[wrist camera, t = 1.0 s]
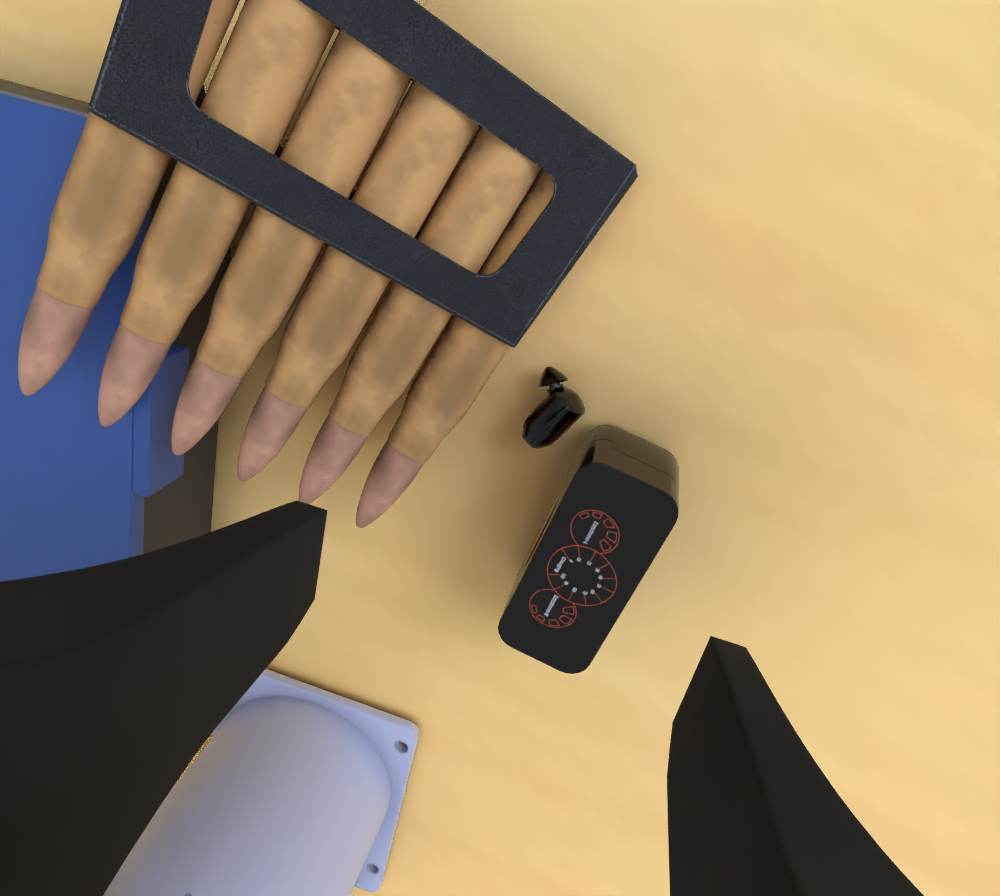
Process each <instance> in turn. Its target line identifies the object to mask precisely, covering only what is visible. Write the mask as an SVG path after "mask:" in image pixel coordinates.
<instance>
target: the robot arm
mask: <svg viewBox="0 0 1000 896" xmlns="http://www.w3.org/2000/svg"><path fill="white" fill-rule="evenodd" d="M326 516H327V510H325V509H321V508H318V507H315V506H312V505H309V504H306V503H303V502H300V501H294V502H291V503H288V504H285V505H282V506H279V507H277V508H274V509H271V510H269V511H266V512H263V513H261V514H258V515H256V516H253V517H250V518H248V519H245V520H243V521H240V522H237V523H234V524H232V525H229V526H226V527H224V528H221V529H218V530H216V531H213V532H210V533H207V534H205V535H202V536H199V537H196V538H192V539H189V540H186V541H183V542H180V543H177V544H174V545H171V546H168V547H165V548H161V549H158V550H155V551H152V552H148V553H145V554H141V555H138V556H134V557H130V558H126V559H122V560H118V561H114V562H109V563H105V564H101V565H97V566H92V567H87V568H82V569H77V570H71V571H65V572H59V573H53V574H47V575H41V576H35V577H29V578H23V579H16V580H8V581H0V896H350V895H351V893H352V891H353V888H354V886H356V887H358V888H361V889H363V890H366V891H369V892H376V891H378V890H379V889H380V887H381V884H382V882H383V878H384V874H385V870H386V866H387V862H388V858H389V854H390V850H391V846H392V842H393V838H394V834H395V830H396V826H397V822H398V818H399V814H400V810H401V806H402V802H403V798H404V794H405V790H406V786H407V782H408V778H409V774H410V770H411V766H412V762H413V758H414V754H415V750H416V746H417V742H418V738H419V730H418V727H417V726H416V725H415V724H414V723H413V722H411V721H409V720H406V719H403V718H400V717H398V716H395V715H392V714H389V713H387V712H384V711H381V710H378V709H376V708H373V707H370V706H367V705H365V704H362V703H359V702H356V701H354V700H351V699H348V698H345V697H343V696H340V695H337V694H334V693H332V692H329V691H326V690H323V689H321V688H318V687H315V686H312V685H310V684H307V683H304V682H301V681H299V680H296V679H293V678H290V677H288V676H285V675H282V674H279V673H276V672H274V671H271V670H268V669H266V668H267V667H268V665H269V664H270V663H271V662H272V661H273V659H274V658H275V657H276V656H277V655H278V653H279V652H280V651H281V650H282V648H283V647H284V646H285V645H286V643H287V642H288V641H289V639H290V638H291V636H292V635H293V633H294V631H295V630H296V628H297V627H298V625H299V624H300V622H301V621H302V619H303V617H304V616H305V614H306V612H307V611H308V609H309V607H310V606H311V604H312V603H313V601H314V599H315V593H316V586H317V579H318V572H319V565H320V558H321V551H322V544H323V537H324V530H325V523H326ZM212 732H213V736H212V739H211V740H210V741H209V743H208V744H207V745H206V747H205V748H204V749H203V750H202V752H201V753H200V754H199V755H198V757H197V758H196V759H195V760H194V762H193V763H192V764H191V765H190V767H189V768H188V769H187V770H186V772H185V773H184V774H183V775H182V777H181V778H180V779H179V777H180V776H181V774H182V773H183V772H184V770H185V769H186V767H187V766H188V764H189V763H190V761H191V760H192V758H193V757H194V755H195V754H196V753H197V751H198V750H199V749H200V748H201V746H202V745H203V744H204V742H205V741H206V740H207V738H208V737H209V736H210V735H211V733H212ZM401 742H403V743H405V744H406V745H405V744H402V743H401ZM178 779H179V780H178ZM177 780H178V782H177ZM176 782H177V783H176ZM175 783H176V784H175ZM173 786H174V787H173ZM667 797H668V837H669V872H670V896H924V895H923V894H922V893H921V892H920V891H919V890H918V889H917V888H916V887H915V886H914V885H913V884H912V883H911V882H910V880H909V879H908V878H907V877H906V876H905V875H904V874H903V873H902V872H901V871H900V870H899V868H898V867H897V866H896V865H895V864H894V863H893V862H892V861H891V859H890V858H889V857H888V856H887V855H886V854H885V853H884V851H883V850H882V849H881V848H880V847H879V845H878V844H877V843H876V842H875V840H874V839H873V838H872V837H871V836H870V834H869V833H868V832H867V831H866V829H865V828H864V827H863V826H862V824H861V823H860V822H859V821H858V820H857V818H856V817H855V816H854V815H853V813H852V812H851V811H850V809H849V808H848V807H847V805H846V804H845V803H844V802H843V800H842V799H841V798H840V796H839V795H838V794H837V792H836V791H835V789H834V788H833V786H832V785H831V784H830V782H829V781H828V779H827V778H826V776H825V775H824V774H823V772H822V771H821V769H820V768H819V767H818V765H817V764H816V762H815V761H814V759H813V758H812V756H811V755H810V753H809V752H808V750H807V749H806V747H805V746H804V744H803V743H802V741H801V739H800V738H799V736H798V735H797V733H796V731H795V730H794V728H793V727H792V725H791V723H790V722H789V720H788V719H787V717H786V715H785V714H784V712H783V710H782V709H781V707H780V705H779V704H778V702H777V700H776V698H775V697H774V695H773V693H772V692H771V690H770V688H769V686H768V685H767V683H766V681H765V679H764V678H763V676H762V674H761V672H760V671H759V669H758V667H757V665H756V664H755V662H754V660H753V659H752V657H751V655H750V654H749V652H748V650H747V649H746V647H743V646H740V645H737V644H734V643H731V642H728V641H724V640H721V639H718V638H715V637H712V636H711V637H710V639H709V641H708V644H707V646H706V648H705V650H704V653H703V655H702V657H701V659H700V662H699V664H698V666H697V669H696V671H695V673H694V675H693V678H692V680H691V682H690V684H689V687H688V689H687V691H686V693H685V696H684V698H683V700H682V703H681V705H680V707H679V709H678V712H677V714H676V716H675V718H674V721H673V725H672V734H671V743H670V751H669V762H668V773H667Z"/></svg>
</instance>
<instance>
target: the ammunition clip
mask: <svg viewBox="0 0 1000 896" xmlns="http://www.w3.org/2000/svg"><path fill="white" fill-rule="evenodd" d="M239 1H240V0H122V2H121V6H120V9H119V12H118V15H117V18H116V22H115V25H114V28H113V31H112V34H111V37H110V41H109V44H108V47H107V50H106V53H105V57H104V60H103V63H102V66H101V69H100V72H99V76H98V79H97V82H96V85H95V88H94V91H93V95H92V98H91V101H90V104H89V111H90V113H89V115H88V118H87V121H86V123H85V126H84V129H83V131H82V134H81V137H80V139H79V142H78V145H77V147H76V150H75V153H74V155H73V158H72V161H71V163H70V166H69V169H68V171H67V174H66V177H65V179H64V182H63V185H62V187H61V190H60V193H59V195H58V198H57V201H56V203H55V206H54V209H53V212H52V215H51V219H50V225H49V232H48V241H47V249H46V254H45V257H44V260H43V263H42V266H41V269H40V272H39V275H38V278H37V283H38V284H37V286H36V289H35V292H34V294H33V297H32V300H31V303H30V305H29V308H28V311H27V314H26V318H25V322H24V327H23V331H22V335H21V340H20V347H19V357H18V378H19V384H20V388H21V392H22V393H23V394H24V395H25V396H31V395H33V394H35V393H36V392H37V391H39V390H40V389H41V388H43V387H44V386H45V385H46V384H47V383H48V382H49V381H50V380H51V379H52V378H53V376H54V375H55V374H56V373H57V372H58V371H59V369H60V368H61V367H62V366H63V364H64V363H65V361H66V360H67V359H68V357H69V356H70V354H71V353H72V351H73V349H74V347H75V346H76V344H77V342H78V341H79V339H80V337H81V335H82V334H83V332H84V329H85V327H86V325H87V323H88V321H89V318H90V316H91V314H92V312H93V309H94V307H95V306H96V305H97V304H98V302H99V300H100V298H101V296H102V294H103V292H104V290H105V288H106V286H107V284H108V282H109V280H110V278H111V276H112V275H113V274H114V272H115V271H116V270H117V268H118V267H119V266H120V264H121V263H122V262H123V260H124V259H125V258H126V256H127V255H128V253H129V251H130V250H131V248H132V246H133V244H134V241H135V239H136V237H137V234H138V232H139V230H140V228H141V225H142V223H143V221H144V218H145V216H146V214H147V212H148V209H149V207H150V205H151V202H152V200H153V198H154V195H155V193H156V191H157V189H158V186H159V184H160V182H161V179H162V177H163V175H164V173H165V170H166V168H167V166H168V163H169V161H170V159H171V157H172V158H173V159H175V160H177V163H176V165H175V168H174V170H173V172H172V175H171V177H170V180H169V182H168V184H167V187H166V189H165V191H164V194H163V196H162V198H161V201H160V203H159V205H158V208H157V210H156V212H155V215H154V217H153V220H152V222H151V224H150V227H149V229H148V231H147V234H146V236H145V238H144V241H143V243H142V245H141V248H140V251H139V253H138V256H137V261H136V265H135V270H134V276H133V281H132V287H131V290H130V293H129V295H128V298H127V301H126V303H125V306H124V309H123V311H122V314H121V318H120V320H121V321H120V323H119V325H118V328H117V330H116V333H115V335H114V337H113V340H112V342H111V345H110V348H109V351H108V355H107V358H106V362H105V365H104V369H103V373H102V378H101V383H100V388H99V398H98V415H99V421H100V424H101V425H102V426H104V427H108V426H110V425H112V424H114V423H115V422H116V421H118V420H119V419H120V418H121V417H122V416H124V415H125V414H126V413H127V412H128V411H129V410H130V408H131V407H132V406H133V405H134V404H135V403H136V402H137V401H138V399H139V398H140V397H141V396H142V394H143V393H144V392H145V390H146V389H147V387H148V386H149V384H150V383H151V381H152V380H153V378H154V377H155V375H156V373H157V372H158V370H159V368H160V367H161V365H162V363H163V361H164V359H165V357H166V355H167V353H168V351H169V349H170V347H171V345H172V343H173V342H174V341H175V340H176V338H177V336H178V334H179V332H180V331H181V329H182V327H183V325H184V323H185V321H186V319H187V318H188V316H189V314H190V313H191V312H192V310H193V309H194V308H195V307H196V305H197V304H198V303H199V302H200V300H201V299H202V298H203V296H204V295H205V294H206V292H207V291H208V289H209V287H210V286H211V284H212V282H213V280H214V278H215V276H216V274H217V272H218V269H219V267H220V265H221V263H222V261H223V259H224V257H225V255H226V253H227V251H228V249H229V247H230V245H231V243H232V241H233V238H234V236H235V234H236V232H237V230H238V228H239V226H240V224H241V222H242V220H243V218H244V216H245V214H246V212H247V210H248V208H249V205H250V203H251V202H252V203H254V204H256V205H257V206H256V208H255V210H254V212H253V215H252V217H251V219H250V221H249V223H248V225H247V227H246V229H245V231H244V234H243V236H242V238H241V240H240V242H239V244H238V246H237V248H236V251H235V253H234V255H233V257H232V259H231V261H230V263H229V265H228V267H227V270H226V272H225V274H224V276H223V278H222V280H221V282H220V284H219V286H218V289H217V291H216V294H215V297H214V301H213V305H212V309H211V314H210V318H209V322H208V326H207V328H206V330H205V333H204V335H203V337H202V340H201V342H200V344H199V347H198V349H197V355H196V357H195V359H194V361H193V363H192V366H191V368H190V370H189V372H188V374H187V377H186V379H185V382H184V384H183V387H182V390H181V393H180V396H179V399H178V403H177V407H176V411H175V415H174V421H173V427H172V438H171V443H172V451H173V453H174V454H175V455H182V454H183V453H185V452H186V451H188V450H189V449H191V448H192V447H193V446H194V445H195V444H196V443H197V442H198V441H199V440H200V439H201V438H202V437H203V436H204V435H205V434H206V433H207V432H208V431H209V429H210V428H211V427H212V426H213V425H214V423H215V422H216V421H217V420H218V418H219V417H220V415H221V414H222V412H223V411H224V410H225V408H226V407H227V405H228V404H229V402H230V401H231V399H232V397H233V395H234V394H235V392H236V390H237V388H238V386H239V384H240V383H241V381H242V379H243V377H244V376H245V375H246V374H247V372H248V371H249V369H250V367H251V366H252V364H253V362H254V360H255V359H256V357H257V355H258V354H259V352H260V350H261V349H262V348H263V346H264V345H265V344H266V343H267V342H268V340H269V339H270V338H271V337H272V336H273V334H274V333H275V332H276V331H277V329H278V328H279V327H280V325H281V323H282V322H283V320H284V318H285V316H286V315H287V313H288V311H289V309H290V307H291V305H292V303H293V301H294V299H295V298H296V296H297V294H298V292H299V290H300V288H301V286H302V284H303V282H304V281H305V279H306V277H307V275H308V273H309V271H310V269H311V267H312V266H313V264H314V262H315V260H316V258H317V256H318V254H319V252H320V250H321V249H322V247H323V245H324V243H326V244H328V246H327V248H326V250H325V252H324V254H323V256H322V258H321V260H320V262H319V263H318V265H317V267H316V269H315V271H314V273H313V275H312V277H311V279H310V281H309V283H308V285H307V287H306V289H305V291H304V292H303V294H302V296H301V298H300V300H299V302H298V304H297V306H296V308H295V310H294V312H293V314H292V316H291V318H290V320H289V322H288V324H287V326H286V328H285V331H284V334H283V337H282V341H281V345H280V348H279V352H278V356H277V358H276V360H275V363H274V365H273V367H272V369H271V371H270V373H269V375H268V378H267V380H266V385H265V387H264V389H263V391H262V393H261V395H260V396H259V398H258V400H257V402H256V404H255V406H254V409H253V411H252V414H251V416H250V419H249V421H248V424H247V427H246V429H245V432H244V436H243V439H242V443H241V447H240V452H239V457H238V478H239V480H240V481H246V480H248V479H250V478H251V477H253V476H254V475H256V474H257V473H258V472H260V471H261V470H262V469H263V468H264V467H265V466H266V465H267V464H268V463H269V462H270V461H271V460H272V459H273V458H274V456H275V455H276V454H277V453H278V452H279V451H280V449H281V448H282V447H283V445H284V444H285V443H286V441H287V440H288V439H289V437H290V436H291V434H292V433H293V432H294V430H295V429H296V427H297V425H298V424H299V422H300V420H301V418H302V417H303V415H304V413H305V412H306V410H307V408H308V407H309V406H310V405H311V404H312V402H313V401H314V399H315V397H316V396H317V394H318V393H319V391H320V389H321V388H322V386H323V385H324V383H325V382H326V381H327V380H328V379H329V377H330V376H331V375H332V374H333V373H334V372H335V371H336V369H337V368H338V367H339V366H340V365H341V364H342V362H343V361H344V359H345V358H346V356H347V355H348V353H349V351H350V349H351V348H352V346H353V344H354V342H355V341H356V339H357V337H358V335H359V334H360V332H361V330H362V328H363V327H364V325H365V323H366V321H367V320H368V318H369V316H370V314H371V313H372V311H373V309H374V307H375V306H376V304H377V302H378V300H379V299H380V297H381V295H382V293H383V292H384V290H385V288H386V287H387V285H388V283H389V281H390V280H392V281H394V282H393V283H392V285H391V287H390V289H389V291H388V292H387V294H386V296H385V298H384V300H383V301H382V303H381V305H380V307H379V309H378V310H377V312H376V314H375V316H374V317H373V319H372V321H371V323H370V325H369V326H368V328H367V330H366V332H365V334H364V335H363V337H362V339H361V341H360V342H359V344H358V346H357V348H356V350H355V351H354V353H353V355H352V357H351V359H350V361H349V364H348V367H347V370H346V373H345V376H344V379H343V383H342V386H341V388H340V390H339V392H338V394H337V396H336V398H335V400H334V402H333V404H332V406H331V408H330V410H329V414H328V416H327V418H326V420H325V421H324V423H323V425H322V427H321V429H320V431H319V432H318V434H317V436H316V439H315V441H314V443H313V445H312V448H311V450H310V453H309V455H308V458H307V460H306V463H305V466H304V470H303V473H302V478H301V482H300V487H299V501H300V502H303V503H306V504H309V503H311V502H312V501H314V500H315V499H317V498H318V497H319V496H321V495H322V494H323V493H324V492H325V491H326V490H327V489H328V488H329V487H330V486H331V485H332V484H333V483H334V482H335V481H336V480H337V479H338V478H339V477H340V476H341V475H342V473H343V472H344V471H345V469H346V468H347V467H348V466H349V464H350V463H351V462H352V460H353V459H354V458H355V456H356V455H357V453H358V452H359V450H360V448H361V447H362V445H363V444H364V442H365V440H366V439H367V437H368V436H369V435H370V434H371V433H372V432H373V430H374V429H375V427H376V426H377V424H378V423H379V421H380V420H381V418H382V417H383V415H384V414H385V412H386V411H387V410H388V409H389V408H390V407H391V406H392V405H393V404H394V403H395V401H396V400H397V399H398V398H399V397H400V396H401V395H402V394H403V393H404V391H405V390H406V388H407V387H408V385H409V384H410V382H411V381H412V379H413V377H414V376H415V374H416V372H417V371H418V369H419V368H420V366H421V364H422V363H423V361H424V359H425V358H426V356H427V354H428V353H429V351H430V350H431V348H432V346H433V345H434V343H435V341H436V340H437V338H438V337H439V335H440V333H441V332H442V330H443V328H444V327H445V325H446V324H447V322H448V320H449V319H450V317H451V315H452V314H453V316H452V318H451V320H450V321H449V323H448V325H447V326H446V328H445V330H444V331H443V333H442V335H441V336H440V338H439V340H438V341H437V343H436V345H435V346H434V348H433V350H432V351H431V353H430V355H429V356H428V358H427V360H426V361H425V363H424V365H423V366H422V368H421V370H420V371H419V373H418V375H417V376H416V378H415V380H414V381H413V383H412V385H411V387H410V389H409V392H408V395H407V397H406V400H405V403H404V406H403V409H402V411H401V414H400V416H399V417H398V419H397V421H396V423H395V425H394V426H393V428H392V430H391V432H390V434H389V436H388V440H387V441H386V443H385V445H384V446H383V448H382V450H381V451H380V453H379V455H378V457H377V458H376V460H375V462H374V464H373V467H372V469H371V471H370V473H369V475H368V477H367V480H366V482H365V485H364V488H363V491H362V494H361V497H360V500H359V504H358V508H357V513H356V525H357V527H359V528H363V527H365V526H367V525H368V524H370V523H372V522H373V521H374V520H376V519H377V518H378V517H379V516H381V515H382V514H383V513H384V512H385V511H386V510H387V509H388V508H389V507H390V506H391V505H392V504H393V503H394V502H395V501H396V500H397V499H398V498H399V497H400V495H401V494H402V493H403V492H404V491H405V489H406V488H407V487H408V486H409V484H410V483H411V482H412V480H413V479H414V477H415V476H416V475H417V473H418V471H419V470H420V468H421V467H422V465H423V464H424V462H425V461H426V460H428V459H429V457H430V456H431V454H432V453H433V451H434V450H435V449H436V447H437V446H438V444H439V443H440V442H441V440H442V439H443V438H444V437H445V436H446V435H447V434H448V433H449V432H450V431H451V430H452V429H453V428H454V427H455V426H456V425H457V424H458V422H459V421H460V420H461V419H462V418H463V416H464V415H465V413H466V412H467V410H468V409H469V407H470V406H471V404H472V403H473V401H474V400H475V398H476V397H477V395H478V394H479V392H480V391H481V389H482V387H483V386H484V384H485V383H486V381H487V380H488V378H489V377H490V375H491V374H492V372H493V371H494V369H495V368H496V366H497V365H498V363H499V361H500V360H501V358H502V357H503V355H504V354H505V352H506V351H507V349H508V348H509V346H511V347H515V346H516V345H517V344H518V342H519V341H520V339H521V338H522V337H523V335H524V334H525V332H526V331H527V330H528V328H529V327H530V325H531V324H532V323H533V321H534V320H535V319H536V317H537V316H538V314H539V313H540V312H541V310H542V309H543V307H544V306H545V305H546V303H547V302H548V300H549V299H550V298H551V296H552V295H553V293H554V292H555V291H556V289H557V288H558V287H559V285H560V284H561V282H562V281H563V280H564V278H565V277H566V275H567V274H568V273H569V271H570V270H571V268H572V267H573V266H574V264H575V263H576V262H577V260H578V259H579V257H580V256H581V255H582V253H583V252H584V250H585V249H586V248H587V246H588V245H589V243H590V242H591V241H592V239H593V238H594V236H595V235H596V234H597V232H598V231H599V230H600V228H601V227H602V225H603V224H604V223H605V221H606V220H607V218H608V217H609V216H610V214H611V213H612V211H613V210H614V209H615V207H616V206H617V204H618V203H619V202H620V200H621V199H622V198H623V196H624V195H625V193H626V192H627V191H628V189H629V188H630V186H631V185H632V184H633V182H634V181H635V179H636V178H637V177H638V174H637V170H636V165H635V164H634V163H633V162H631V161H630V160H629V159H627V158H626V157H624V156H623V155H622V154H620V153H619V152H618V151H616V150H615V149H614V148H612V147H611V146H610V145H608V144H607V143H606V142H604V141H603V140H602V139H600V138H599V137H598V136H596V135H595V134H593V133H592V132H591V131H589V130H588V129H587V128H585V127H584V126H583V125H581V124H580V123H579V122H577V121H576V120H575V119H573V118H572V117H571V116H569V115H568V114H567V113H565V112H564V111H562V110H561V109H560V108H558V107H557V106H556V105H554V104H553V103H552V102H550V101H549V100H548V99H546V98H545V97H544V96H542V95H541V94H540V93H538V92H537V91H535V90H534V89H533V88H531V87H530V86H529V85H527V84H526V83H525V82H523V81H522V80H521V79H519V78H518V77H517V76H515V75H514V74H513V73H511V72H510V71H509V70H507V69H506V68H504V67H503V66H502V65H500V64H499V63H498V62H496V61H495V60H494V59H492V58H491V57H490V56H488V55H487V54H486V53H484V52H483V51H482V50H480V49H479V48H478V47H476V46H475V45H473V44H472V43H471V42H469V41H468V40H467V39H465V38H464V37H463V36H461V35H460V34H459V33H457V32H456V31H455V30H453V29H452V28H451V27H449V26H448V25H446V24H445V23H444V22H442V21H441V20H440V19H438V18H437V17H436V16H434V15H433V14H432V13H430V12H429V11H428V10H426V9H425V8H424V7H422V6H421V5H420V4H418V3H417V2H415V1H414V0H246V1H245V3H244V5H243V8H242V10H241V13H240V15H239V17H238V20H237V22H236V24H235V27H234V29H233V31H232V34H231V36H230V38H229V41H228V43H227V45H226V48H225V50H224V53H223V55H222V57H221V60H220V62H219V64H218V67H217V69H216V71H215V74H214V76H213V78H212V81H211V83H210V85H209V88H208V90H207V93H206V94H205V90H204V85H203V83H204V81H205V79H206V76H207V74H208V72H209V70H210V67H211V65H212V63H213V60H214V58H215V56H216V54H217V51H218V49H219V47H220V44H221V42H222V40H223V38H224V35H225V33H226V31H227V28H228V26H229V24H230V21H231V19H232V17H233V15H234V12H235V10H236V8H237V5H238V3H239ZM335 28H336V29H338V30H339V33H338V35H337V37H336V39H335V41H334V43H333V45H332V47H331V50H330V52H329V54H328V56H327V58H326V60H325V62H324V64H323V66H322V69H321V71H320V73H319V75H318V77H317V79H316V81H315V83H314V86H313V88H312V90H311V92H310V94H309V96H308V98H307V100H306V102H305V105H304V107H303V109H302V111H301V113H300V115H299V117H298V119H297V121H296V124H295V126H294V128H293V130H292V132H291V134H290V136H289V138H288V141H287V143H286V145H285V147H284V148H283V147H281V146H280V145H279V144H280V141H281V139H282V137H283V135H284V133H285V131H286V129H287V127H288V125H289V123H290V121H291V119H292V117H293V115H294V113H295V111H296V108H297V106H298V104H299V102H300V100H301V98H302V96H303V94H304V92H305V90H306V88H307V86H308V84H309V82H310V80H311V77H312V75H313V73H314V71H315V69H316V67H317V65H318V63H319V61H320V59H321V57H322V55H323V53H324V51H325V49H326V47H327V44H328V42H329V40H330V38H331V36H332V34H333V32H334V30H335ZM411 80H412V81H413V82H412V84H411V86H410V87H409V89H408V91H407V93H406V95H405V97H404V99H403V101H402V103H401V105H400V107H399V109H398V111H397V113H396V115H395V117H394V118H393V120H392V122H391V124H390V126H389V128H388V130H387V132H386V134H385V136H384V138H383V140H382V142H381V144H380V146H379V147H378V149H377V151H376V153H375V155H374V157H373V159H372V161H371V163H370V165H369V167H368V169H367V171H366V173H365V175H364V176H363V178H362V180H361V182H360V184H359V186H358V188H357V190H356V191H355V190H353V188H354V186H355V184H356V182H357V181H358V179H359V177H360V175H361V173H362V171H363V169H364V167H365V166H366V164H367V162H368V160H369V158H370V156H371V154H372V152H373V150H374V149H375V147H376V145H377V143H378V141H379V139H380V137H381V135H382V133H383V132H384V130H385V128H386V126H387V124H388V122H389V120H390V118H391V116H392V115H393V113H394V111H395V109H396V107H397V105H398V103H399V101H400V99H401V98H402V96H403V94H404V92H405V90H406V88H407V86H408V84H409V83H410V81H411ZM478 127H480V128H479V130H478V132H477V133H476V135H475V137H474V139H473V141H472V142H471V144H470V146H469V148H468V149H467V151H466V153H465V155H464V157H463V158H462V160H461V162H460V164H459V166H458V167H457V169H456V171H455V173H454V174H453V176H452V178H451V180H450V182H449V183H448V185H447V187H446V189H445V191H444V192H443V194H442V196H441V198H440V199H439V201H438V203H437V205H436V207H435V208H434V210H433V212H432V214H431V216H430V217H429V219H428V221H427V223H426V225H425V226H424V228H423V230H422V231H421V230H420V227H421V225H422V224H423V222H424V220H425V218H426V217H427V215H428V213H429V211H430V210H431V208H432V206H433V204H434V203H435V201H436V199H437V197H438V196H439V194H440V192H441V190H442V189H443V187H444V185H445V183H446V182H447V180H448V178H449V176H450V175H451V173H452V171H453V169H454V168H455V166H456V164H457V163H458V161H459V159H460V157H461V156H462V154H463V152H464V150H465V149H466V147H467V145H468V143H469V142H470V140H471V138H472V136H473V135H474V133H475V131H476V129H477V128H478Z"/></svg>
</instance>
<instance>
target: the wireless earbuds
mask: <svg viewBox="0 0 1000 896" xmlns="http://www.w3.org/2000/svg"><path fill="white" fill-rule="evenodd" d="M567 380H568V378H567V377H566V376H565V375H563V374H562V373H561V372H559V371H558V370H556V369H555V368H553V367H551V366H550V367H546V368H545V370H544V372H543V374H542V376H541V379H540V381H539V385H538V387H543V386H549V389H548V390H547V391H548V394H549V395H548V396H547V397H546V398H545V399H544V400H543V401H542V402H541V403H540V404H539V405H538V406H537V407H536V408H535V409H534V410H533V411H532V412H531V413H530V414H529V415H528V416H527V418H526V420H525V422H524V425H523V436H522V437H523V438H524V440H525V441H526V442H527V443H528V444H529V445H530V446H531V447H533V448H537V449H539V448H543V447H547V446H550V445H552V444H553V443H554V442H556V441H557V440H558V439H559V438H560V437H561V436H562V435H563V434H564V433H565V432H566V431H567V430H568V429H569V428H570V427H571V426H572V425H573V424H574V423H575V422H576V421H577V420H578V419H579V418H580V417H581V416H582V415H583V414H584V413H585V407H584V404H583V402H582V400H581V399H580V397H579V396H578V395H577V394H576V393H575V392H574V391H572V390H571V389H569V388H567V387H565V386H563V384H561V385H560V382H563V381H567ZM678 485H679V467H678V464H677V461H676V459H675V458H674V456H673V455H672V454H671V453H670V452H668V451H667V450H665V449H663V448H661V447H659V446H656V445H654V444H652V443H650V442H648V441H646V440H644V439H641V438H639V437H637V436H635V435H633V434H631V433H629V432H627V431H624V430H622V429H620V428H618V427H615V426H612V425H601V426H598V427H596V428H595V429H593V430H592V431H591V432H590V433H589V435H588V436H587V437H586V439H585V441H584V443H583V445H582V447H581V449H580V451H579V453H578V455H577V457H576V459H575V461H574V463H573V465H572V467H571V469H570V471H569V473H568V475H567V477H566V479H565V481H564V483H563V485H562V487H561V489H560V491H559V493H558V495H557V497H556V499H555V501H554V503H553V505H552V507H551V509H550V511H549V513H548V515H547V517H546V519H545V521H544V522H543V524H542V526H541V528H540V530H539V532H538V534H537V536H536V538H535V540H534V542H533V544H532V546H531V548H530V550H529V552H528V554H527V556H526V558H525V560H524V562H523V564H522V566H521V568H520V570H519V572H518V574H517V577H516V580H515V582H514V585H513V588H512V590H511V593H510V595H509V598H508V601H507V603H506V606H505V608H504V611H503V614H502V616H501V619H500V622H499V625H498V631H499V634H500V637H501V639H502V640H503V641H504V642H505V643H506V644H507V645H509V646H510V647H512V648H514V649H516V650H518V651H520V652H522V653H524V654H526V655H528V656H530V657H533V658H535V659H537V660H539V661H541V662H543V663H545V664H547V665H549V666H551V667H553V668H555V669H557V670H559V671H562V672H565V673H571V674H574V673H580V672H582V671H584V670H585V669H586V668H587V667H588V666H589V665H590V663H591V662H592V660H593V659H594V657H595V655H596V654H597V652H598V650H599V649H600V647H601V645H602V644H603V642H604V640H605V639H606V637H607V635H608V634H609V632H610V630H611V629H612V627H613V625H614V624H615V622H616V621H617V619H618V617H619V616H620V614H621V612H622V611H623V609H624V607H625V606H626V604H627V602H628V601H629V599H630V597H631V596H632V594H633V592H634V591H635V589H636V588H637V586H638V584H639V583H640V581H641V579H642V578H643V576H644V574H645V573H646V571H647V569H648V568H649V566H650V564H651V563H652V561H653V559H654V558H655V556H656V555H657V553H658V551H659V550H660V548H661V546H662V545H663V543H664V541H665V540H666V538H667V536H668V535H669V533H670V531H671V530H672V528H673V526H674V525H675V523H676V521H677V518H678Z"/></svg>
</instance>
